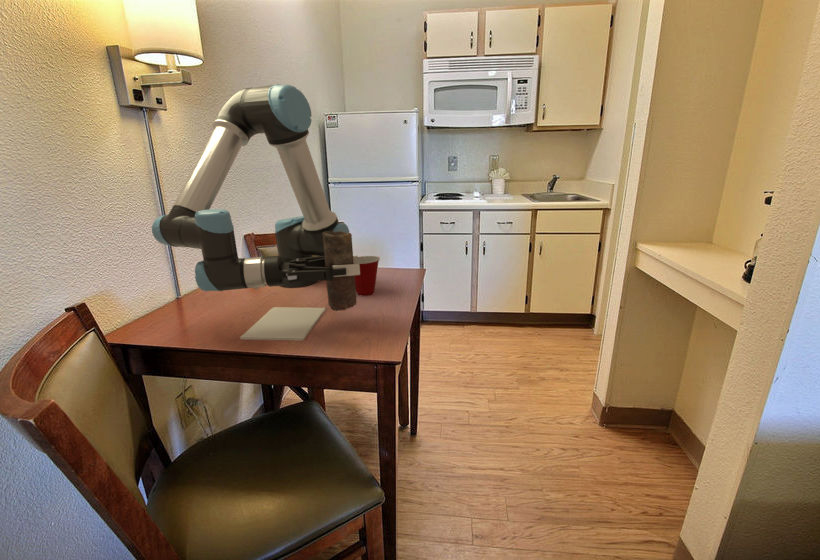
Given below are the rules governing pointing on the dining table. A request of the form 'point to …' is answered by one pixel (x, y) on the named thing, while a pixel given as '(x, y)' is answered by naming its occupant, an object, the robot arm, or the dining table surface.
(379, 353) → the dining table surface
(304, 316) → the mat
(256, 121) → the robot arm
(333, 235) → the brown rough cylinder
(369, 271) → the plastic cup
